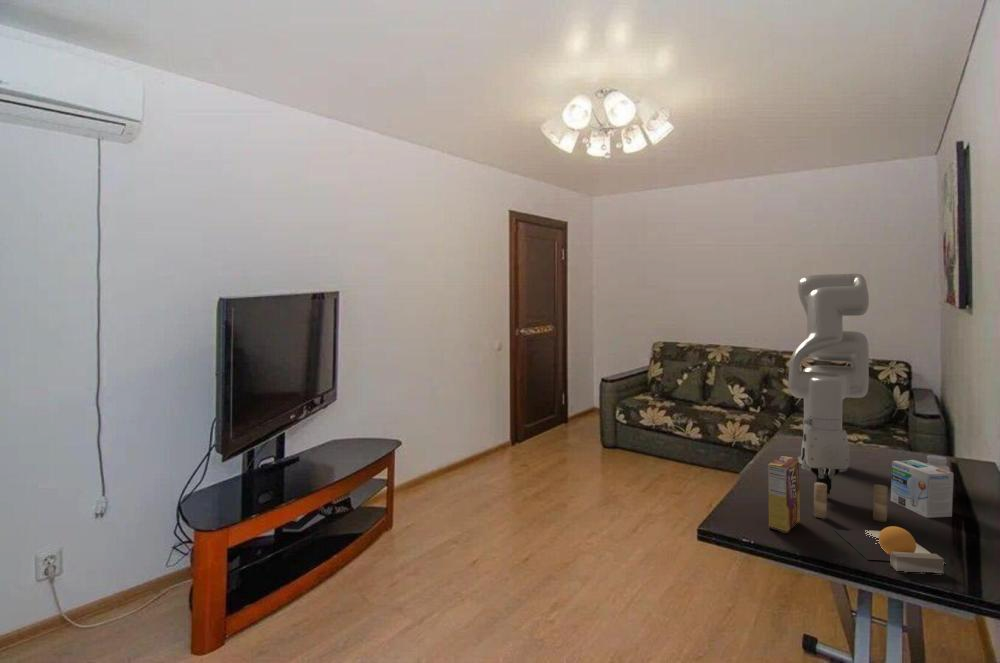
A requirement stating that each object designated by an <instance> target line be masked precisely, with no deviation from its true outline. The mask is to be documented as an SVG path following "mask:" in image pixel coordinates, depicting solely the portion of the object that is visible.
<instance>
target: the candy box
mask: <svg viewBox="0 0 1000 663" xmlns="http://www.w3.org/2000/svg"><path fill="white" fill-rule="evenodd" d="M767 474H768V476H767V478H768V482H767V484H768V485H767V486H768V487H767V488H768V491H767V492H768V494H767V495H768V497H767V498H768V499H767V500H768V527H769V526H771V527H775V528H778V529H781V530H785V531H788V530H790V529H791V528H792V527H793V526H794V525H795V524H796V523H798V522H799V521H801V519H800V514H801V513H800V512H801V510H800V507H801V506H800V463H799V459H798V457H797V458H796V457H791V456H787V455H786V456H785V455H780V456H779V457H777V458H776V459H775V460H773V461H771V462H769V464H767ZM799 523H800V522H799ZM799 523H798V524H799Z"/></svg>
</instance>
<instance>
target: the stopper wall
mask: <svg viewBox="0 0 1000 663" xmlns="http://www.w3.org/2000/svg"><path fill="white" fill-rule="evenodd" d="M944 561H945V559H944V558H943V557H942V556H940V555H938V554H937V553H931V554H927V553H908V552H890V563H889V564H890V565H891V566H892V567H893V568H894V569H895V570H896V571H904V572H903V573H907V572H921V573H920V574H923V573H922V572H934V573H943V574H944V563H945V562H944ZM890 565H889V566H890ZM894 569H893V570H894ZM895 570H894V571H895ZM896 571H895V572H896Z"/></svg>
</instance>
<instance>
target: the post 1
mask: <svg viewBox="0 0 1000 663" xmlns="http://www.w3.org/2000/svg"><path fill="white" fill-rule="evenodd" d="M813 486H814V487H813V489H814V490H813V517H814V516H815V517H814V518H816V517H818V518H826V517H827V516H828V515H827V512H828V508H827V506H828V494H827V485H826V484H824V483H819V482H814V485H813ZM818 518H817V519H818ZM826 519H827V518H826Z"/></svg>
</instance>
